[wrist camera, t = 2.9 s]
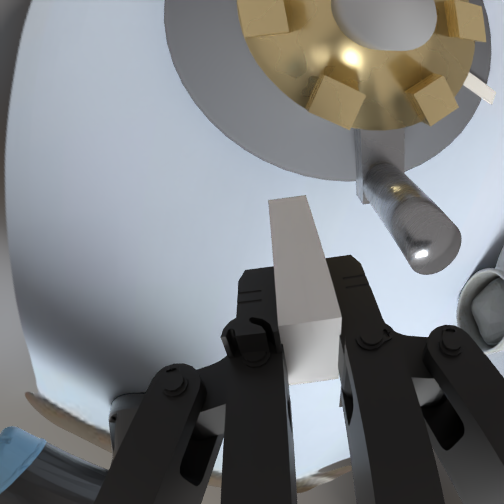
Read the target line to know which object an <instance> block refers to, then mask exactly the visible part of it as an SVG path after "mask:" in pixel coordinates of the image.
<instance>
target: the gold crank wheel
mask: <svg viewBox="0 0 504 504" xmlns="http://www.w3.org/2000/svg"><path fill="white" fill-rule="evenodd" d="M434 3H435V6H436V12H437V22H436V27H435V30H434V32H433V34H432V36H431V37H430V39H429V40H428V41H427V42H426V43H425V44H423V45H422V46H420V47H418V48H416V49H413V50H408V51H390V50H373V49H368V48H365V47H363V46H361V45H358V44H357V43H355V42H353V41H352V40H351V39H349V38H348V37H347V36H346V35H345V34H344V33H343V32H342V31H341V29H340V28H339V27H338V25H337V23H336V21H335V19H334V17H333V14H332V10H331V0H237V10H238V18H239V22H240V26H241V29H242V33H243V36H244V39H245V41H246V44H247V46H248V48H249V51H250V53H251V54H252V56H253V58H254V59H255V61H256V63H257V64H258V66H259V67H260V68H261V69H262V71H263V72H264V73H265V75H266V76H267V77H268V78H269V79H270V80H271V81H272V82H273V83H274V84H275V85H276V86H277V87H278V88H279V89H280V90H281V91H282V92H283V93H284V94H285V95H287V96H288V97H289V98H290V99H292V100H293V101H294V102H295V103H297V104H298V105H300V106H302V107H303V108H305V109H306V110H307V111H308V112H309V113H312V114H314V115H316V116H319V117H321V118H323V119H326V120H328V121H330V122H332V123H335V124H337V125H339V126H341V127H343V128H345V129H348V130H350V128H354V142H355V161H356V190H357V196H358V198H359V199H360V201H361V202H362V204H369V203H370V204H371V206H372V207H373V208H374V210H375V211H376V213H377V214H378V216H379V217H380V219H381V220H382V222H383V223H384V225H385V226H386V228H387V229H388V231H389V232H390V234H391V235H392V237H393V239H394V240H395V242H396V243H397V245H398V246H399V248H400V250H401V251H402V253H403V254H404V256H405V258H406V259H407V261H408V263H409V264H410V266H411V268H412V269H413V270H414V271H415V272H417V273H419V274H423V275H429V274H434V273H437V272H439V271H441V270H443V269H444V268H446V267H447V266H448V265H449V264H450V263H451V262H452V261H453V260H454V259H455V257H456V256H457V254H458V252H459V249H460V246H461V233H460V231H459V229H458V227H457V226H456V225H455V224H454V223H453V222H452V221H451V220H450V219H449V218H448V217H447V216H446V215H445V213H444V212H443V211H442V210H441V209H440V208H439V207H438V206H437V205H436V204H435V203H434V202H433V201H432V200H431V199H430V198H429V197H428V196H427V195H426V194H425V193H424V192H423V191H422V190H421V189H420V188H419V187H418V186H417V185H416V184H415V183H414V182H413V181H411V180H410V179H409V178H408V177H407V176H406V175H405V174H404V164H405V127H408V126H412V125H415V124H417V123H420V122H423V123H425V124H427V125H429V126H430V127H431V126H432V125H434V124H435V123H437V122H438V121H440V120H441V119H442V118H444V117H445V116H447V115H448V114H450V113H451V112H453V111H454V110H456V109H457V108H459V106H458V104H457V102H456V100H455V98H454V97H455V96H456V94H457V93H458V92H459V90H460V89H461V87H462V86H463V84H464V82H465V80H466V78H467V76H468V73H469V71H470V68H471V65H472V61H473V56H474V51H475V41H476V42H486V34H485V26H484V18H483V11H482V6H479V5H475V4H471V3H469V0H434Z"/></svg>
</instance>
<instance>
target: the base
mask: <svg viewBox="0 0 504 504" xmlns="http://www.w3.org/2000/svg"><path fill="white" fill-rule="evenodd" d="M469 3H471V4H475V5H479V6H482V11H483V18H484V26H485V34H486V42H476V41H475V51H474V56H473V61H472V65H471V68H470V71H469V73H468V76H467V78H466V80H465V82H464V84H463V86H462V87H461V89H460V90H459V92H458V93H457V94H456V96H455V97H454V98H455V100H456V102H457V104H458V106H459V108H457V109H456V110H454V111H453V112H451V113H450V114H448V115H447V116H445V117H444V118H442V119H441V120H440V121H438V122H437V123H435V124H434V125H432V126H431V127H430V126H429V125H427V124H425V123H423V122H420V123H417V124H415V125H412V126H408V127H405V164H404V172H405V171H407V170H409V169H412V168H414V167H416V166H419V165H421V164H422V163H424V162H426V161H427V160H429V159H431V158H432V157H434V156H436V155H437V154H438V153H440V152H441V151H442V150H443V149H445V148H446V147H447V146H448V145H450V144H451V143H452V141H453V140H454V139H455V138H456V137H457V136H458V135H459V134H460V133H461V132H462V131H463V129H464V128H465V127H466V125H467V124H468V122H469V121H470V120H471V118H472V117H473V115H474V113H475V111H476V109H477V107H478V105H479V103H480V101H481V98H482V99H484V100H485V101H486V102H488V103H489V104H491V105H492V103H493V100H494V98H495V95H496V92H495V91H494V90H493V89H491V88H490V87H489V86H487V85H486V84H487V79H488V75H489V70H490V61H491V36H490V28H489V23H488V17H487V13H486V10H485V7H484V3H483V0H469ZM331 10H332V14H333V17H334V19H335V21H336V23H337V25H338V27H339V28H340V29H341V31H342V32H343V33H344V34H345V35H346V36H347V37H348V38H349V39H351V40H352V41H353V42H355V43H357V44H358V45H361V46H363V47H365V48H368V49H373V50H390V51H408V50H413V49H416V48H418V47H420V46H422V45H423V44H425V43H426V42H427V41H428V40H429V39H430V37H431V36H432V34H433V32H434V30H435V27H436V22H437V12H436V6H435V3H434V0H331ZM164 24H165V31H166V39H167V44H168V47H169V51H170V54H171V58H172V61H173V64H174V66H175V68H176V71H177V73H178V75H179V77H180V79H181V81H182V84H183V85H184V87H185V88H186V90H187V91H188V93H189V95H190V96H191V98H192V99H193V101H194V102H195V104H196V105H197V106H198V107H199V109H200V110H201V111H202V112H203V113H204V115H205V116H206V117H207V118H208V119H209V120H210V121H211V122H212V123H213V124H214V125H215V126H216V127H217V128H218V129H219V130H220V131H221V132H222V133H223V134H224V135H225V136H227V137H228V138H229V139H231V140H232V141H234V142H235V143H236V144H238V145H239V146H240V147H242V148H243V149H244V150H246V151H248V152H250V153H251V154H253V155H255V156H257V157H258V158H260V159H262V160H263V161H266V162H268V163H270V164H273V165H275V166H277V167H279V168H282V169H284V170H287V171H290V172H294V173H297V174H300V175H303V176H308V177H313V178H318V179H324V180H334V181H356V161H355V142H354V128H350V130H348V129H345V128H343V127H341V126H339V125H337V124H335V123H332V122H330V121H328V120H326V119H323V118H321V117H319V116H316V115H314V114H312V113H309V112H308V111H307V110H306V109H305V108H303V107H302V106H300V105H298V104H297V103H295V102H294V101H293V100H292V99H290V98H289V97H288V96H287V95H285V94H284V93H283V92H282V91H281V90H280V89H279V88H278V87H277V86H276V85H275V84H274V83H273V82H272V81H271V80H270V79H269V78H268V77H267V76H266V75H265V73H264V72H263V71H262V69H261V68H260V67H259V66H258V64H257V63H256V61H255V59H254V58H253V56H252V54H251V53H250V51H249V48H248V46H247V44H246V41H245V39H244V36H243V33H242V29H241V26H240V22H239V18H238V10H237V0H165V6H164Z"/></svg>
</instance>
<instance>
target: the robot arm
mask: <svg viewBox="0 0 504 504" xmlns="http://www.w3.org/2000/svg"><path fill="white" fill-rule="evenodd" d="M268 203H269V214H270V226H271V238H272V250H273V263H274V266H273V267H265V268H258V269H250V270H245V271H244V273H243V275H242V276H241V278H240V279H239V281H238V298H237V304H238V305H237V315H236V318H235V319H233V320H232V321H230V322H229V323H228V324H227V325H226V327H225V328H224V329H223V332H222V335H221V340H222V342H223V345H224V347H225V350H226V353H227V356H226V357H225V358H223V359H222V360H221V361H219V362H217V363H215V364H212V365H210V366H207V367H204V368H201V369H198V370H195V369H194V368H193V367H192V366H189V365H187V364H172V365H169V366H166V367H164V368H163V369H162V370H160V371H159V372H158V373H157V374H156V375H155V377H154V378H153V379H152V381H151V383H150V385H149V387H148V389H147V391H146V393H145V394H127V395H122V396H119V397H117V398H116V399H115V400H114V401H113V402H112V406H111V409H110V413H109V427H110V437H111V445H112V454H113V455H112V456H113V457H112V462H111V467H110V469H109V470H107V469H104V468H102V467H100V466H97V465H95V464H93V463H90V462H88V461H86V460H83V459H81V458H79V457H76V456H74V455H72V454H70V453H68V452H66V451H64V450H62V449H60V448H58V447H55V446H53V445H52V444H50V443H48V442H46V440H44V439H42V438H40V439H39V438H38V437H36V436H34V435H32V434H29V433H28V432H26V431H24V430H22V429H20V428H18V427H14V426H11V427H7V428H5V429H4V430H2V432H1V434H0V504H201V502H202V499H203V496H204V493H205V491H206V488H207V485H208V482H209V479H210V476H211V473H212V470H213V467H214V464H215V461H216V458H217V455H218V453H219V450H220V447H221V444H222V441H223V438H224V446H223V465H222V486H221V504H297V489H296V472H295V456H294V441H293V427H292V413H291V401H290V395H289V385H296V384H304V383H312V382H319V381H326V380H332V379H338V377H339V375H340V380H341V394H340V405H339V407H342V406H343V412H344V418H345V424H346V430H347V437H348V443H349V450H350V457H351V464H352V471H353V479H354V486H355V495H356V503H357V504H445V502H444V497H443V493H442V488H441V483H440V478H439V474H438V470H437V466H436V461H435V457H434V453H433V449H434V451H435V452H436V454H437V456H438V458H439V460H440V462H441V463H442V465H443V467H444V469H445V471H446V472H447V474H448V476H449V478H450V480H451V482H452V484H453V485H454V487H455V489H456V491H457V493H458V495H459V496H460V499H461V500H462V503H463V504H504V378H503V376H502V375H501V374H500V373H499V371H498V370H497V369H496V367H495V366H494V365H493V363H492V362H491V361H490V360H489V358H488V357H487V356H486V355H485V353H484V352H483V351H482V350H481V348H480V347H479V346H478V345H477V344H476V342H475V341H474V340H473V339H472V338H471V336H470V335H469V334H468V333H467V332H465V331H464V330H463V329H462V328H459V327H456V326H454V325H443V326H440V327H437V328H436V329H434V330H433V331H432V332H431V333H430V335H429V337H416V336H407V335H402V334H399V333H397V332H395V331H393V329H392V328H391V327H390V326H389V325H387V324H386V323H385V322H384V320H383V318H382V316H381V313H380V311H379V308H378V305H377V303H376V300H375V298H374V295H373V293H372V290H371V288H370V285H369V283H368V280H367V278H366V276H365V273H364V270H363V268H362V266H361V263H360V262H358V261H357V260H356V259H355V258H354V257H353V256H351V255H346V256H339V257H331V258H325V256H324V252H323V249H322V246H321V242H320V239H319V236H318V232H317V229H316V226H315V223H314V220H313V217H312V213H311V210H310V207H309V204H308V201H307V198H306V195H304V196H296V197H289V198H282V199H274V200H268ZM431 445H432V446H431ZM432 447H433V449H432Z"/></svg>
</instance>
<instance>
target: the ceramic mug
mask: <svg viewBox="0 0 504 504" xmlns="http://www.w3.org/2000/svg"><path fill="white" fill-rule="evenodd" d="M457 325H458V327H459V328H462V329H463V330H464V331H465V332H467V333H468V334H469V335H470V336H471V338H472V339H473V340H474V341H475V342H476V344H477V345H478V346H479V347H480V348H481V350H482V351H483V352H484V353H485V355H487V354H493V353H497V352H503V351H504V246H503V248H502V250H501V253H500V255H499V258H498V260H497V264H496V267H495V268H486V269H482V270H480V271H478V272H476V273H475V274H474V275H473V276H472V277H471V278H470V279H469V280H468V281H467V283H466V284H465V286H464V288H463V290H462V291H461V294H460V297H459V300H458V306H457Z"/></svg>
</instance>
